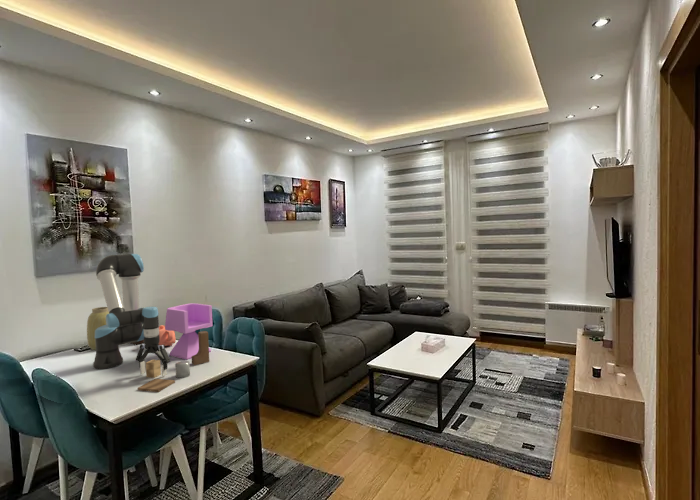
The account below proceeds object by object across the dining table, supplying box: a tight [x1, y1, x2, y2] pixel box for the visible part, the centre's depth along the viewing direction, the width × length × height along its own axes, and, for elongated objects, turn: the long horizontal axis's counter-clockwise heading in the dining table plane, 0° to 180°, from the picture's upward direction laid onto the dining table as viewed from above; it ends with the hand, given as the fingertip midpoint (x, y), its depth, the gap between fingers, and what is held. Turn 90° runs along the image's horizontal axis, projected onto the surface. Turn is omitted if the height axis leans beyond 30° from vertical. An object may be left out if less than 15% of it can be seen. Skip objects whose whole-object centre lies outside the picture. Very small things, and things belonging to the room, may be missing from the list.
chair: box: [164, 302, 213, 361], centre depth 249 cm, size 20×20×30 cm
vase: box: [86, 306, 109, 351], centre depth 267 cm, size 17×17×27 cm
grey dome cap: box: [174, 360, 191, 379], centre depth 212 cm, size 7×7×7 cm
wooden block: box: [191, 330, 210, 366], centre depth 232 cm, size 9×4×18 cm, turn 130°
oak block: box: [145, 359, 162, 379], centre depth 213 cm, size 5×5×8 cm
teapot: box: [159, 324, 177, 347], centre depth 268 cm, size 22×13×14 cm, turn 56°
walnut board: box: [137, 378, 176, 393], centre depth 199 cm, size 12×12×1 cm
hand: (153, 374), depth 213 cm, fingers open, 13 cm apart
